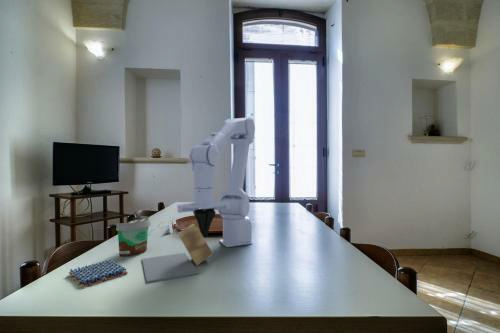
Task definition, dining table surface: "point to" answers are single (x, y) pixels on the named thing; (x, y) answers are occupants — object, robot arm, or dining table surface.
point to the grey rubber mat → (168, 267)
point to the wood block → (195, 244)
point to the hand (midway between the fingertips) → (204, 236)
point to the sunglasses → (169, 225)
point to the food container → (133, 236)
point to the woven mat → (97, 273)
